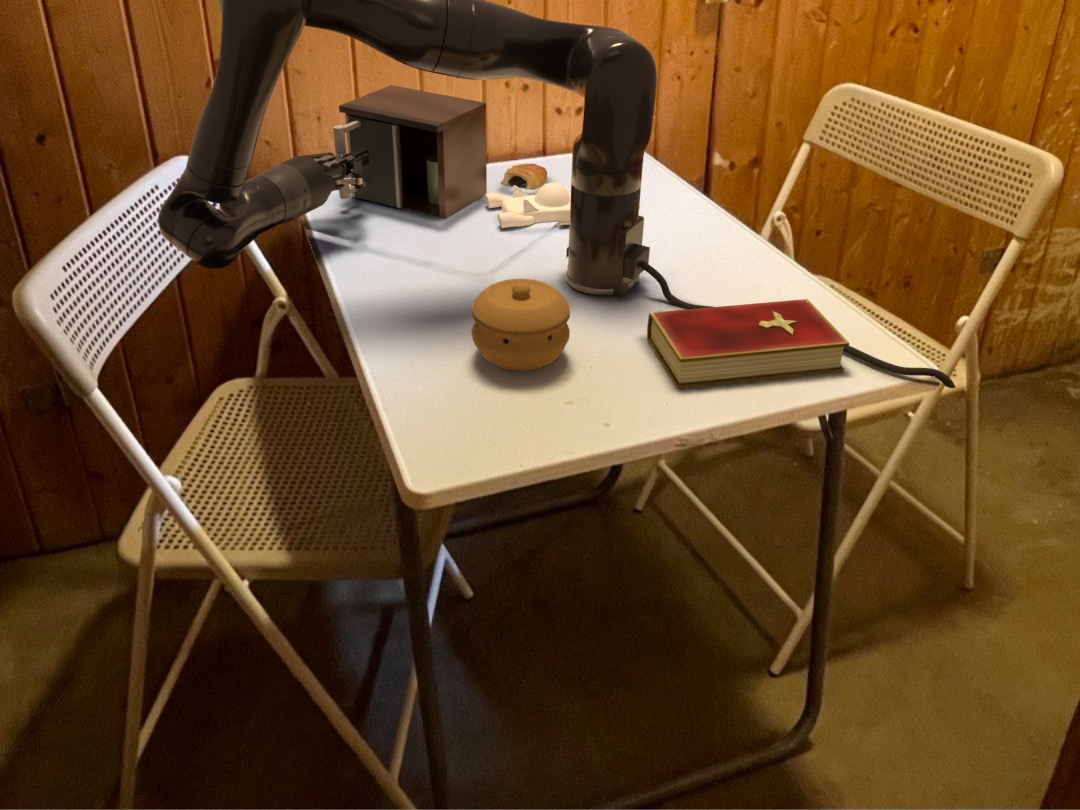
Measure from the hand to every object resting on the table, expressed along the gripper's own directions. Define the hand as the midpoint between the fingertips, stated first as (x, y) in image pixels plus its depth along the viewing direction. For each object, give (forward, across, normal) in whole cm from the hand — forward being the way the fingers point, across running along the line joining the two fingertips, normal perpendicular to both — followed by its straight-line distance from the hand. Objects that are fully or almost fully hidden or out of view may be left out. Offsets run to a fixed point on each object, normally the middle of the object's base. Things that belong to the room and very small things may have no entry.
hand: (365, 155), depth 153 cm
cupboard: (+10, -3, +10) cm, 14 cm away
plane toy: (+15, -25, +10) cm, 31 cm away
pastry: (+25, -14, +10) cm, 30 cm away
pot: (-25, -42, +10) cm, 50 cm away
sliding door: (0, +1, +9) cm, 9 cm away
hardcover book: (-10, -65, +10) cm, 67 cm away
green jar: (+10, -7, +9) cm, 15 cm away
